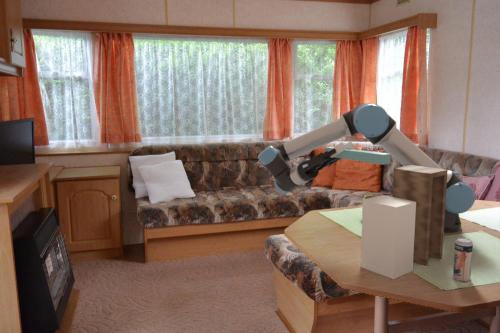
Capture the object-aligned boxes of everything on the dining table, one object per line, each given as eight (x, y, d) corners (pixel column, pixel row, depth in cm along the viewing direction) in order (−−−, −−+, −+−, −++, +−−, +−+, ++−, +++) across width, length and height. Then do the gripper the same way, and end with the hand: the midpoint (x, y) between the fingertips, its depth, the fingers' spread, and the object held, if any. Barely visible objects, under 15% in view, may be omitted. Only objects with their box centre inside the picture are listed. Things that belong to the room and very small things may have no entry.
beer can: (449, 276, 131) (451, 237, 129) (464, 275, 132) (467, 237, 130) (458, 282, 127) (460, 243, 125) (473, 282, 127) (476, 242, 125)
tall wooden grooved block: (390, 254, 149) (393, 168, 144) (407, 248, 155) (411, 164, 150) (425, 266, 139) (430, 173, 134) (442, 259, 145) (447, 169, 140)
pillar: (360, 266, 139) (362, 199, 136) (380, 259, 145) (382, 194, 141) (393, 279, 130) (396, 207, 126) (412, 270, 136) (416, 201, 132)
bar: (324, 155, 151) (325, 147, 150) (331, 155, 153) (332, 146, 152) (383, 164, 132) (383, 154, 131) (390, 163, 134) (390, 153, 133)
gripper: (323, 178, 166) (368, 153, 148) (291, 184, 157) (334, 158, 139) (317, 160, 168) (359, 133, 150) (284, 165, 159) (326, 137, 141)
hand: (347, 145), depth 144 cm, fingers closed on bar, 3 cm apart
